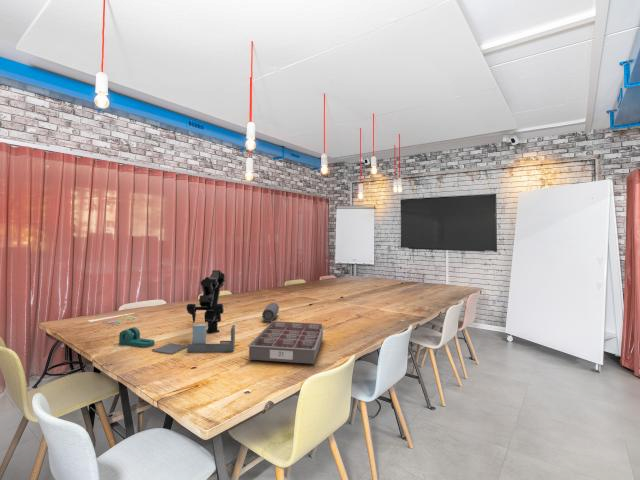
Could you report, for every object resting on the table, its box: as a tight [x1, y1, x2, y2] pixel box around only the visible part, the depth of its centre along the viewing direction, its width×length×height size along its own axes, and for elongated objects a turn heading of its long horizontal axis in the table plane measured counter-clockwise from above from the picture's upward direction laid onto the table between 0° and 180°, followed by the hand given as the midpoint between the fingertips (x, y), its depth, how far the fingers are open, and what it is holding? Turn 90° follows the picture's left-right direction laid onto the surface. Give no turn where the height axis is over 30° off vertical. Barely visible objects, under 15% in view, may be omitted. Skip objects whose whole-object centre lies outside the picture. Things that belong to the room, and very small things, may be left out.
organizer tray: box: [247, 320, 325, 365], centre depth 173 cm, size 32×40×10 cm
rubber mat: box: [151, 342, 187, 355], centre depth 170 cm, size 12×12×1 cm
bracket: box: [118, 326, 155, 349], centre depth 176 cm, size 18×7×8 cm, turn 75°
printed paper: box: [87, 312, 140, 325], centre depth 223 cm, size 30×30×2 cm
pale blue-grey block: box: [191, 323, 207, 344], centre depth 169 cm, size 2×6×13 cm, turn 97°
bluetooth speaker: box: [261, 302, 280, 322], centre depth 235 cm, size 23×9×10 cm, turn 179°
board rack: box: [186, 324, 236, 354], centre depth 169 cm, size 6×22×12 cm, turn 97°
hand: (202, 322), depth 175 cm, fingers open, 9 cm apart
